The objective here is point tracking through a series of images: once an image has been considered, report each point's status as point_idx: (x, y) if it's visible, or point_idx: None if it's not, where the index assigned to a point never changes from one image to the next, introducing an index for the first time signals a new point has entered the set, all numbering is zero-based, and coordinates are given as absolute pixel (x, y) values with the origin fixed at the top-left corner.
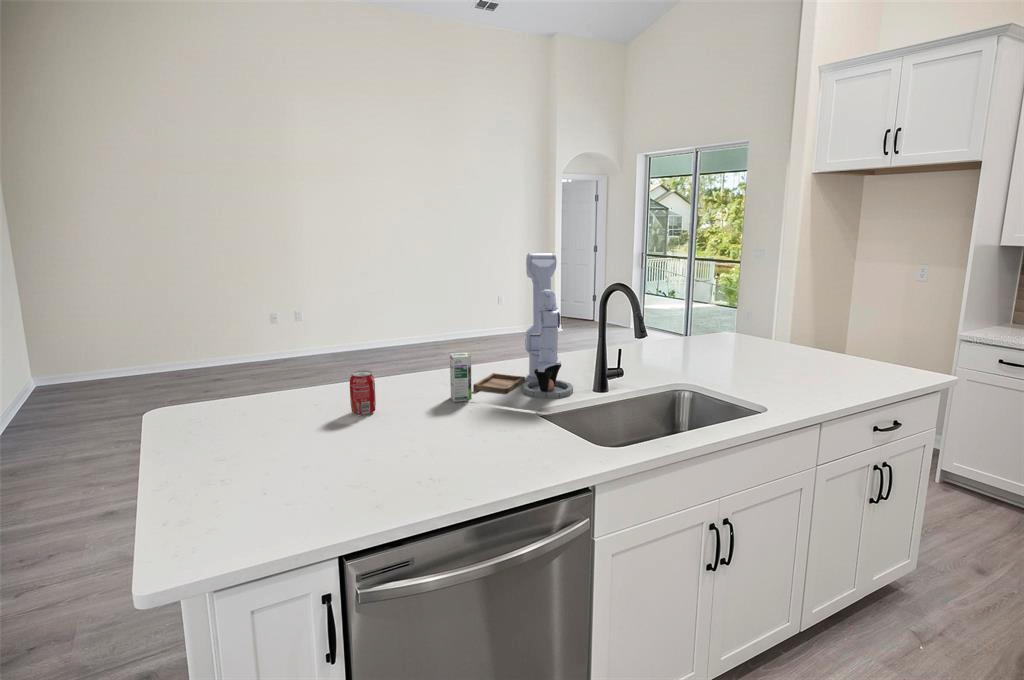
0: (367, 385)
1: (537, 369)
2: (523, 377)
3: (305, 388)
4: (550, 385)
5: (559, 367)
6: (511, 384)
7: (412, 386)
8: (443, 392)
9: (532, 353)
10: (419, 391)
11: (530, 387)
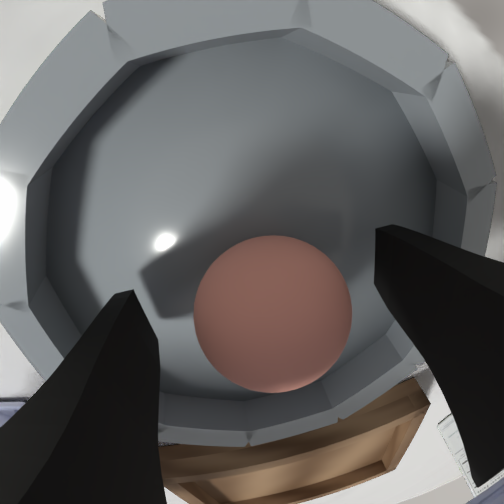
0: None
1: (501, 470)
2: (170, 478)
3: (421, 494)
4: (327, 261)
5: (15, 488)
6: (342, 445)
7: (380, 492)
8: (411, 459)
9: None
10: (412, 471)
11: (256, 397)
